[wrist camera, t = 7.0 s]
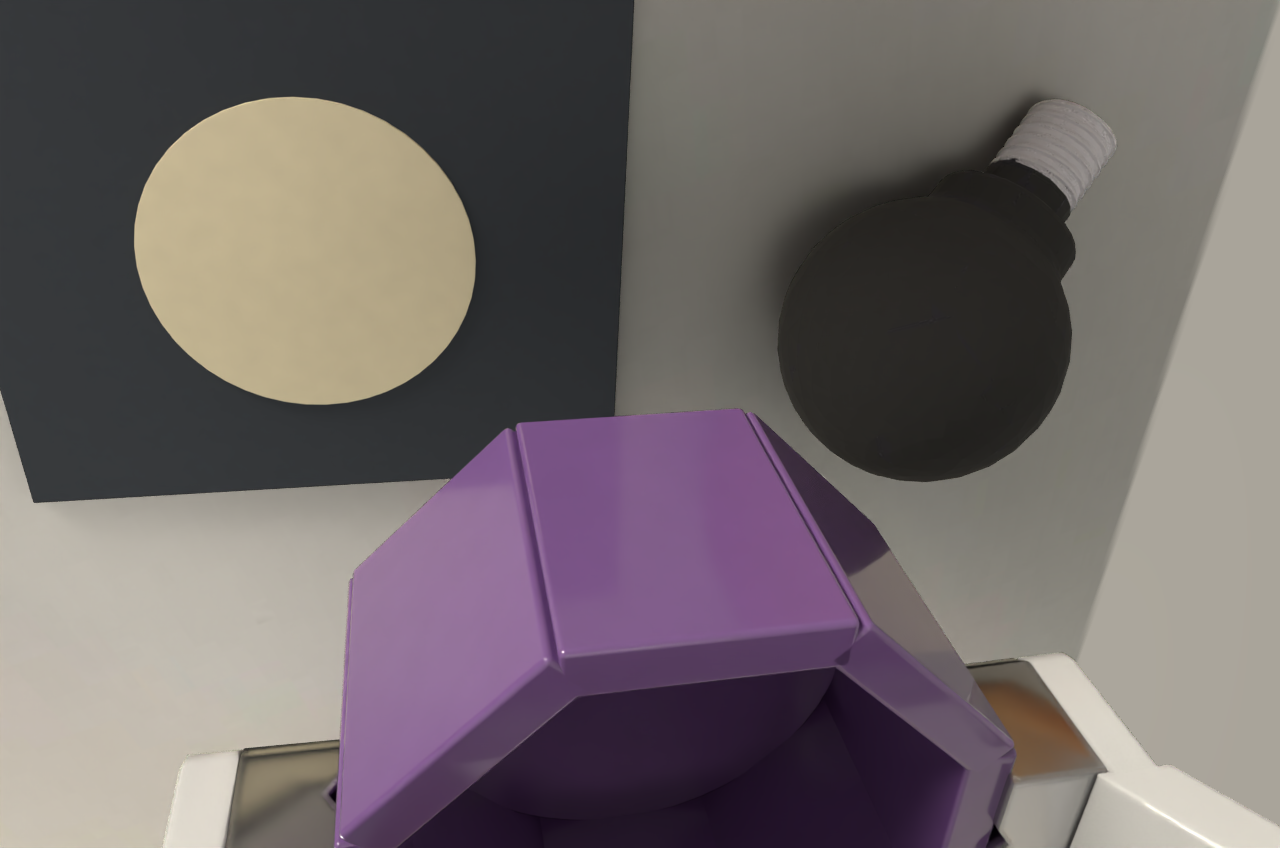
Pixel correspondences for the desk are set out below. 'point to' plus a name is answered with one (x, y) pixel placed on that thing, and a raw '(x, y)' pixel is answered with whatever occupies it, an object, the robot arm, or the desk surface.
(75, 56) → the mat
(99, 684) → the desk surface
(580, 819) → the dish
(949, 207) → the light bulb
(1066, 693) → the robot arm
